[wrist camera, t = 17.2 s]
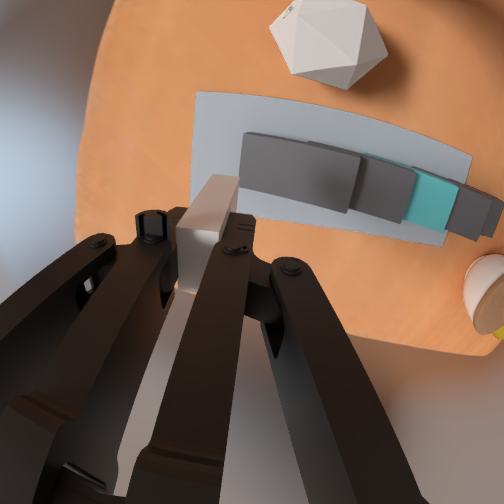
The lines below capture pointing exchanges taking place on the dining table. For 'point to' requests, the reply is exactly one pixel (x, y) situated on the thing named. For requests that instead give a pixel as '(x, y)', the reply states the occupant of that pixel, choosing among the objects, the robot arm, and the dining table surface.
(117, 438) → the robot arm
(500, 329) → the lemon
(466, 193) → the domino
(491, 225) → the domino
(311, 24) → the die
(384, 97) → the dining table surface
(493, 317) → the lidded jar
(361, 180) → the domino
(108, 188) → the dining table surface
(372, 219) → the mat
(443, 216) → the teal domino
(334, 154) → the domino
